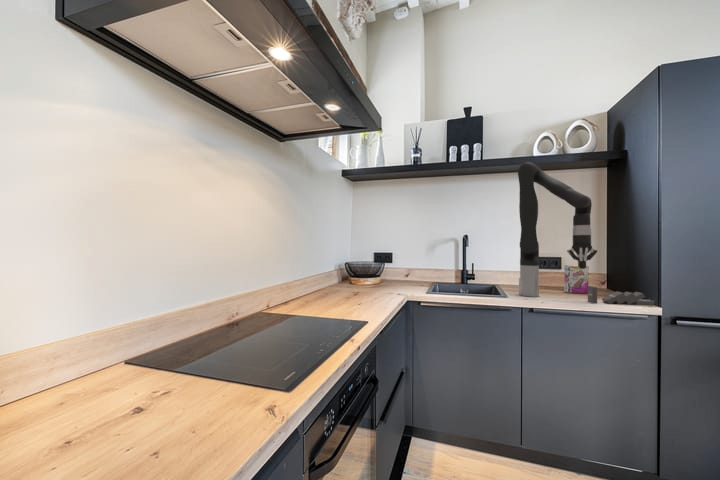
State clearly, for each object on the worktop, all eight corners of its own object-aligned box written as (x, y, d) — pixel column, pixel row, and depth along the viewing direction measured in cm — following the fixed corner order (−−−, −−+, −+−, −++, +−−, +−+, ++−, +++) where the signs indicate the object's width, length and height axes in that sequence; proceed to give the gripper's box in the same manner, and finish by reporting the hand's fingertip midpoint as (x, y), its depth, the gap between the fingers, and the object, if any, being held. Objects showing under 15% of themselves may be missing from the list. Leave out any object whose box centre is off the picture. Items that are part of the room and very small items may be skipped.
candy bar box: (568, 293, 172) (568, 265, 172) (563, 292, 177) (563, 265, 177) (589, 293, 171) (588, 265, 171) (583, 292, 176) (583, 265, 176)
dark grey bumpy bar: (616, 300, 142) (632, 292, 141) (610, 298, 146) (626, 291, 145) (618, 304, 142) (635, 296, 141) (612, 302, 146) (628, 295, 145)
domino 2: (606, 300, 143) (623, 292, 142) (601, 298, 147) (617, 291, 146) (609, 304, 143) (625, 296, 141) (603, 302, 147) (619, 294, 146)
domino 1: (592, 303, 144) (592, 287, 145) (587, 301, 149) (587, 285, 149) (597, 303, 144) (597, 287, 144) (592, 301, 148) (592, 286, 148)
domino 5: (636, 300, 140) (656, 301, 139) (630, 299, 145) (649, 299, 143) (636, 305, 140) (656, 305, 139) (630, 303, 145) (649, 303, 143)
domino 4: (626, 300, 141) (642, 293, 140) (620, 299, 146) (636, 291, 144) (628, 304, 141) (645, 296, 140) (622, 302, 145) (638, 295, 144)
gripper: (592, 234, 150) (593, 268, 150) (563, 234, 153) (563, 267, 153) (601, 234, 143) (601, 269, 142) (570, 234, 146) (570, 269, 145)
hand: (582, 268), depth 148 cm, fingers closed
